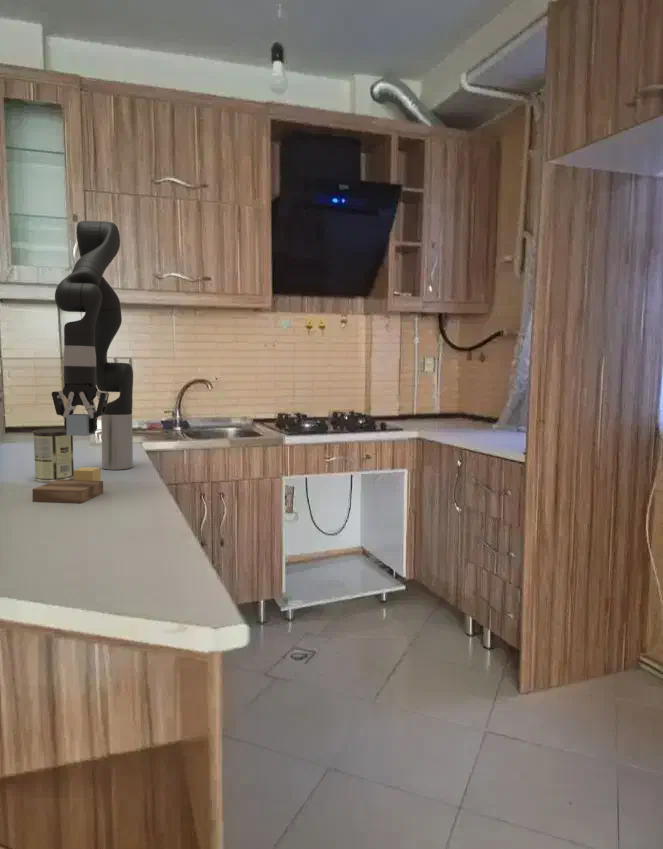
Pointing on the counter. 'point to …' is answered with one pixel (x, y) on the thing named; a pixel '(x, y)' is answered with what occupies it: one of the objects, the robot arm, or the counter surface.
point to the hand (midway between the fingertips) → (80, 432)
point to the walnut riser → (67, 491)
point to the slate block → (78, 425)
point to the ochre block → (87, 474)
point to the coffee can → (53, 455)
